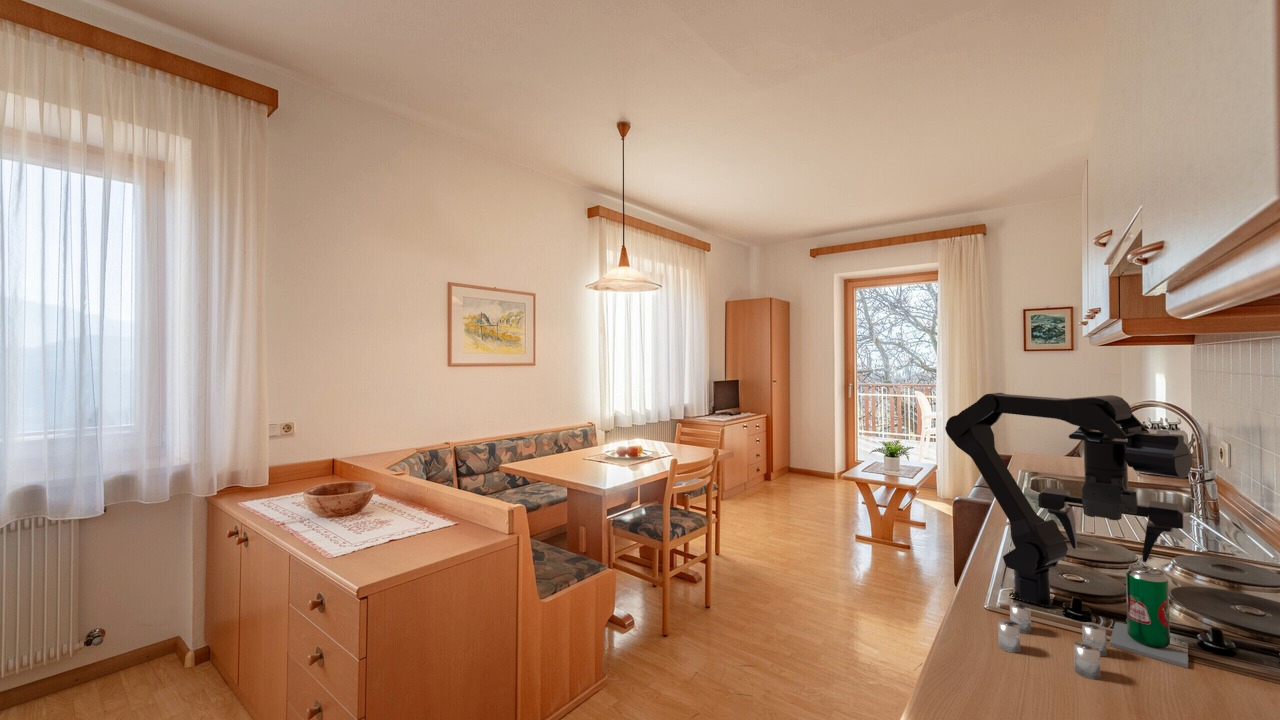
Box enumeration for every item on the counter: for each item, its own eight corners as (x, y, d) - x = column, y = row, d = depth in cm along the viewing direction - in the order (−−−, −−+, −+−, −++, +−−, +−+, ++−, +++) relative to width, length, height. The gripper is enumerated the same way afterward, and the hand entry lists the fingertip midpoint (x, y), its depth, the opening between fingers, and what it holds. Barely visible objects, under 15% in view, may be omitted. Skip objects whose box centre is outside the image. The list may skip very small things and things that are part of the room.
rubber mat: (1115, 625, 92) (1115, 621, 92) (1188, 644, 86) (1188, 640, 86) (1109, 645, 86) (1109, 642, 86) (1188, 668, 80) (1187, 664, 80)
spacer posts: (1012, 622, 94) (1011, 600, 94) (1108, 650, 85) (1107, 626, 85) (996, 647, 87) (995, 623, 87) (1099, 681, 77) (1098, 654, 77)
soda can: (1119, 632, 89) (1117, 563, 89) (1151, 633, 88) (1149, 563, 88) (1144, 649, 84) (1142, 576, 84) (1179, 650, 83) (1177, 576, 83)
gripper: (1030, 468, 93) (1033, 554, 93) (1180, 484, 79) (1183, 585, 79) (1043, 457, 100) (1045, 537, 100) (1182, 470, 87) (1185, 563, 87)
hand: (1108, 554), depth 91 cm, fingers open, 9 cm apart
